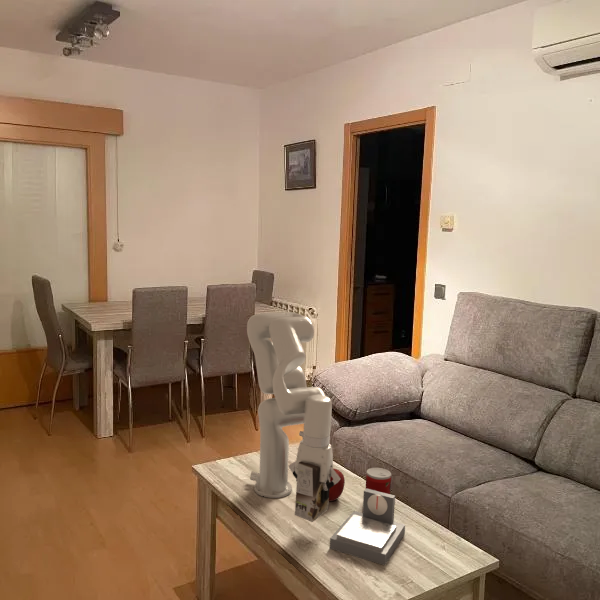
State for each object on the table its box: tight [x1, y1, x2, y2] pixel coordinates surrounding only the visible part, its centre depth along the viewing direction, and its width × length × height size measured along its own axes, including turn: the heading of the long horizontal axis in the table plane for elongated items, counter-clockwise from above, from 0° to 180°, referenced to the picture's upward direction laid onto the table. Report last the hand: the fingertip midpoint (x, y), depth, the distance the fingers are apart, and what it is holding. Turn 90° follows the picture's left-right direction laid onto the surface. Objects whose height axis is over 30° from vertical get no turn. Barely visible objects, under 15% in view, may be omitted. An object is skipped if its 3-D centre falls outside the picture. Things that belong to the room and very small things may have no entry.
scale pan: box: [337, 515, 396, 551], centre depth 162 cm, size 13×13×1 cm
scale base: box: [329, 488, 406, 566], centre depth 163 cm, size 16×18×11 cm
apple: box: [329, 467, 346, 502], centre depth 188 cm, size 10×10×10 cm
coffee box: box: [294, 462, 330, 523], centre depth 165 cm, size 9×6×16 cm
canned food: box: [365, 467, 392, 494], centre depth 185 cm, size 8×8×11 cm
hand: (312, 496), depth 166 cm, fingers closed on coffee box, 6 cm apart
